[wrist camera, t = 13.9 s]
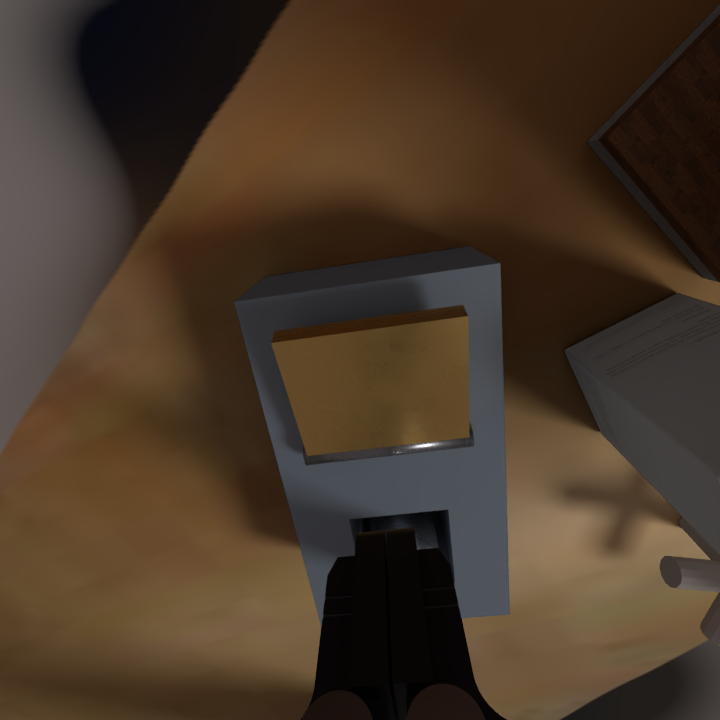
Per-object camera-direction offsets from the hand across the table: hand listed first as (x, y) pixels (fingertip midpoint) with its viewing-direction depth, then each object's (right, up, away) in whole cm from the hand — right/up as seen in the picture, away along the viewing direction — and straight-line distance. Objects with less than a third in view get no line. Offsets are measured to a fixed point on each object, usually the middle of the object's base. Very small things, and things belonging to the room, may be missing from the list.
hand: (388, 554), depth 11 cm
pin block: (+1, +1, +17) cm, 17 cm away
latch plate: (0, +4, +9) cm, 10 cm away
